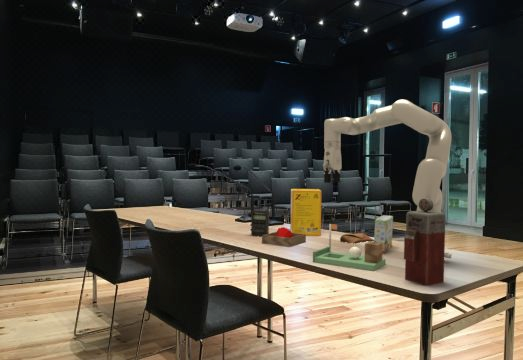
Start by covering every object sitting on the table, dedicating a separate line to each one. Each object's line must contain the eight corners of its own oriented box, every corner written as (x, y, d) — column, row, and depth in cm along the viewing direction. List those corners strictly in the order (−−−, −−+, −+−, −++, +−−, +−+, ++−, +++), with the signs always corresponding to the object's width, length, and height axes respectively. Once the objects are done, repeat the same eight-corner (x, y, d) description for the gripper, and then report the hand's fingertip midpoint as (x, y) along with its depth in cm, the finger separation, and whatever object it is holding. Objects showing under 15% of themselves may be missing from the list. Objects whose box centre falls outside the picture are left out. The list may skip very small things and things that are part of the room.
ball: (362, 258, 169) (363, 246, 169) (358, 260, 165) (358, 248, 165) (351, 256, 172) (351, 245, 172) (346, 259, 168) (347, 246, 168)
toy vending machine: (399, 280, 145) (401, 198, 144) (421, 276, 151) (423, 197, 150) (421, 286, 137) (423, 200, 136) (444, 282, 143) (446, 198, 142)
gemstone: (289, 243, 205) (296, 231, 213) (273, 234, 206) (281, 223, 214) (283, 255, 210) (290, 243, 218) (267, 246, 211) (275, 235, 219)
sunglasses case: (352, 244, 211) (347, 231, 213) (343, 249, 216) (338, 237, 218) (375, 240, 222) (370, 228, 224) (366, 245, 227) (361, 234, 229)
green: (385, 263, 169) (386, 228, 168) (373, 270, 157) (374, 233, 157) (327, 255, 183) (328, 223, 182) (312, 261, 171) (313, 227, 170)
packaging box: (290, 231, 251) (290, 188, 250) (318, 231, 250) (318, 189, 249) (291, 235, 235) (291, 190, 234) (320, 236, 234) (321, 190, 233)
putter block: (382, 260, 165) (382, 242, 165) (377, 263, 160) (377, 245, 160) (369, 259, 168) (370, 241, 168) (364, 261, 163) (364, 243, 163)
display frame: (305, 242, 215) (305, 234, 215) (290, 246, 202) (290, 238, 202) (278, 238, 224) (278, 231, 224) (261, 243, 211) (262, 235, 211)
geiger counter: (248, 236, 232) (249, 208, 231) (251, 234, 236) (251, 207, 235) (267, 237, 228) (267, 209, 228) (269, 236, 233) (269, 208, 232)
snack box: (386, 254, 188) (386, 220, 187) (373, 253, 190) (373, 219, 190) (392, 246, 207) (393, 215, 206) (380, 245, 209) (381, 214, 209)
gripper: (331, 144, 189) (331, 183, 189) (347, 146, 203) (347, 182, 203) (316, 145, 193) (316, 182, 193) (332, 146, 207) (332, 181, 208)
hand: (332, 182), depth 198 cm, fingers open, 9 cm apart
